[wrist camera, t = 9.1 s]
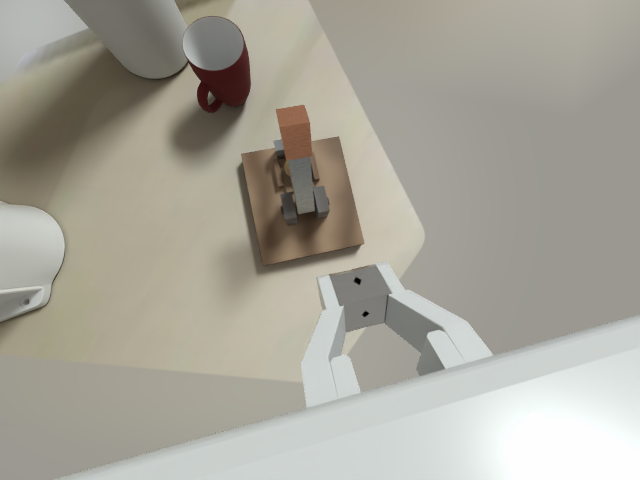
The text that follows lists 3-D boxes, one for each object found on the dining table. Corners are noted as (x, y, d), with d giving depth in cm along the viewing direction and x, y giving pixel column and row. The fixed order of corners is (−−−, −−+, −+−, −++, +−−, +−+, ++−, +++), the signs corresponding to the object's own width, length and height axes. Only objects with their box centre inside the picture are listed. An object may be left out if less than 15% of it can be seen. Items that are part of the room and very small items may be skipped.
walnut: (292, 186, 39) (291, 178, 35) (281, 168, 39) (278, 158, 36) (311, 175, 39) (312, 166, 36) (299, 157, 39) (299, 146, 36)
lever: (297, 215, 35) (279, 127, 23) (291, 191, 37) (273, 99, 25) (316, 211, 35) (309, 122, 23) (310, 187, 37) (300, 94, 25)
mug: (242, 137, 41) (223, 96, 31) (197, 120, 41) (163, 74, 31) (265, 84, 43) (253, 28, 33) (221, 67, 42) (196, 6, 33)
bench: (265, 265, 39) (256, 265, 32) (244, 159, 41) (231, 137, 34) (361, 244, 40) (373, 240, 34) (337, 142, 42) (343, 118, 35)
